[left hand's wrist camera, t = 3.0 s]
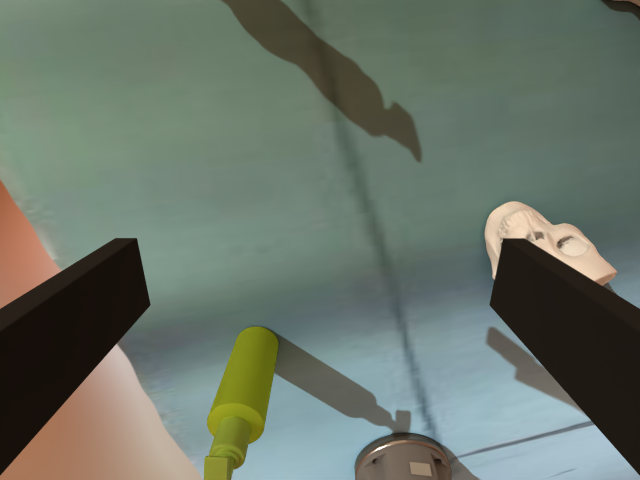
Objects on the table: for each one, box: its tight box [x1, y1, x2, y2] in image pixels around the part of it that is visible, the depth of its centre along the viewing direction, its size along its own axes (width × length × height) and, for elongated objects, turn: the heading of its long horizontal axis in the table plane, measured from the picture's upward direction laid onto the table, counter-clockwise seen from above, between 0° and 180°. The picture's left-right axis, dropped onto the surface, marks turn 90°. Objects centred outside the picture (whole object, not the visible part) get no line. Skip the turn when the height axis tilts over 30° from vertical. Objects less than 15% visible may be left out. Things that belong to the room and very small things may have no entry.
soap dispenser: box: [204, 327, 279, 480], centre depth 38 cm, size 6×7×20 cm
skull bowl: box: [485, 201, 617, 285], centre depth 39 cm, size 10×14×12 cm
